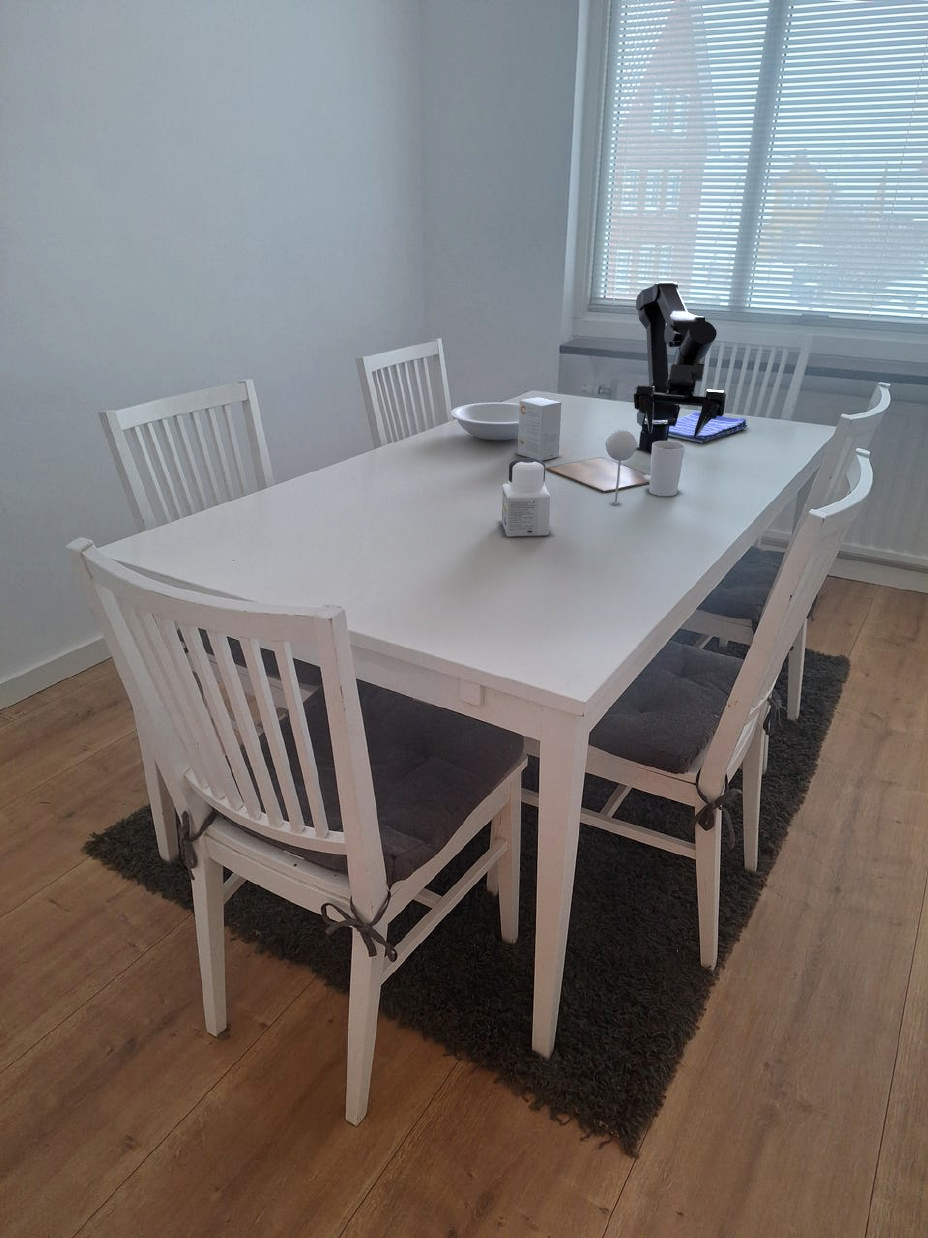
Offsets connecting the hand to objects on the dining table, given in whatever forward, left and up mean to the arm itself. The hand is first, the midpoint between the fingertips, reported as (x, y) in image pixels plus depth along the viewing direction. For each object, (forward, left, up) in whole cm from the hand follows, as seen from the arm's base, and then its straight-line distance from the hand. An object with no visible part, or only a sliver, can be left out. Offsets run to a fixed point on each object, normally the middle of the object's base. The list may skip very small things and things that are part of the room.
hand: (672, 434), depth 170 cm
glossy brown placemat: (+6, -13, -11) cm, 19 cm away
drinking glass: (+3, +3, -11) cm, 12 cm away
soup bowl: (+8, -52, -11) cm, 54 cm away
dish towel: (-43, -31, -11) cm, 54 cm away
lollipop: (+17, +4, -11) cm, 21 cm away
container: (+41, +6, -11) cm, 43 cm away
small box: (+9, -33, -11) cm, 36 cm away
